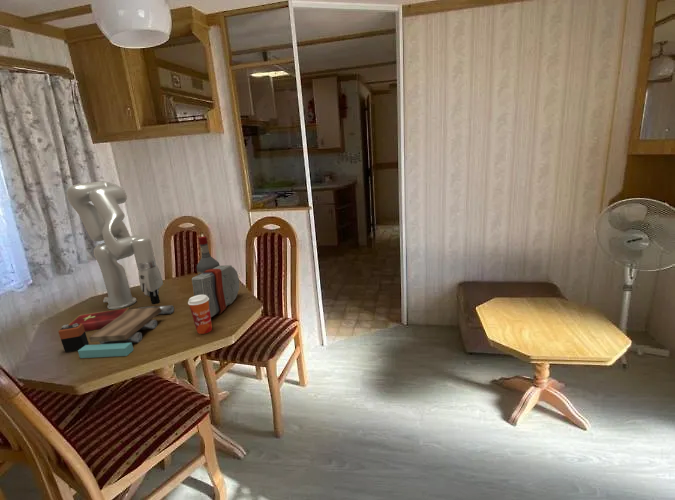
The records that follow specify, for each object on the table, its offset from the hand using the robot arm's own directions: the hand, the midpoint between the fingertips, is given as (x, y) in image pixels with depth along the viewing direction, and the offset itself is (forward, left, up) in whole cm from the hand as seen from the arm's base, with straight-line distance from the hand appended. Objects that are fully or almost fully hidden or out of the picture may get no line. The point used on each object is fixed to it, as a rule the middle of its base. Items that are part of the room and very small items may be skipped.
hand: (156, 303), depth 165 cm
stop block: (0, -35, -4) cm, 35 cm away
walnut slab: (0, -21, 0) cm, 20 cm away
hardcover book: (-21, -9, -5) cm, 24 cm away
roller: (0, -27, -5) cm, 27 cm away
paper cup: (+31, -21, -5) cm, 38 cm away
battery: (-16, -30, -5) cm, 34 cm away
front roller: (0, -16, -5) cm, 16 cm away
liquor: (+20, +15, -5) cm, 26 cm away
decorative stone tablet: (+30, 0, -5) cm, 31 cm away
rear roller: (0, -2, -5) cm, 5 cm away
